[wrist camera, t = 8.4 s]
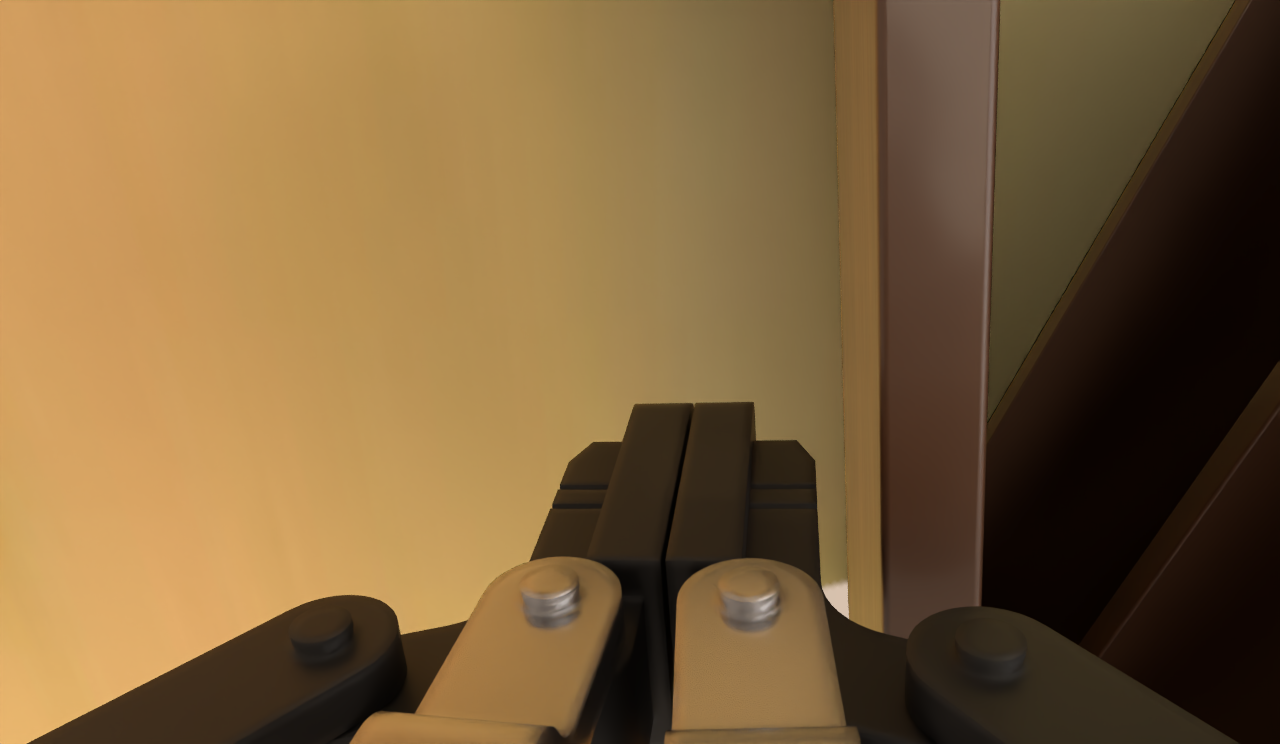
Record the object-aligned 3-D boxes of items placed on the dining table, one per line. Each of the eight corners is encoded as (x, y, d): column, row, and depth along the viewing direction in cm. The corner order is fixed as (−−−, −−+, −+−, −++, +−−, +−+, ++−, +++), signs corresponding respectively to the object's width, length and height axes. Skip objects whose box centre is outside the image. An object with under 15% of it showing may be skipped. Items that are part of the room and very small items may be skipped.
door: (691, 598, 39) (542, 1403, 18) (621, -173, 30) (110, -443, 8) (876, 599, 38) (954, 1464, 17) (865, -203, 29) (1022, -613, 7)
